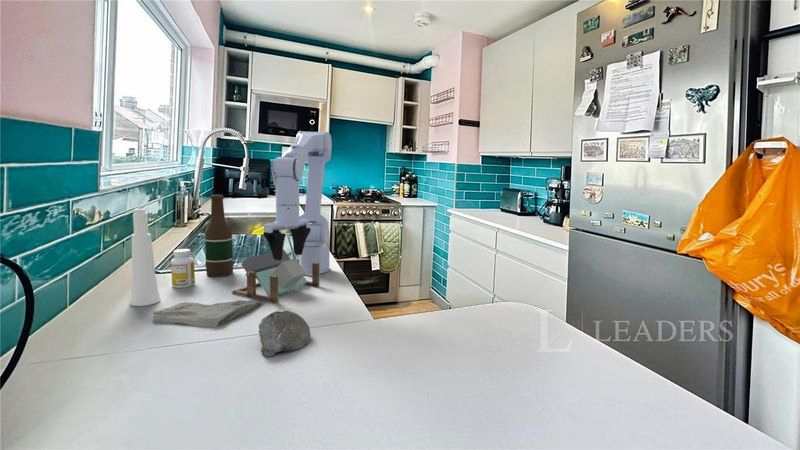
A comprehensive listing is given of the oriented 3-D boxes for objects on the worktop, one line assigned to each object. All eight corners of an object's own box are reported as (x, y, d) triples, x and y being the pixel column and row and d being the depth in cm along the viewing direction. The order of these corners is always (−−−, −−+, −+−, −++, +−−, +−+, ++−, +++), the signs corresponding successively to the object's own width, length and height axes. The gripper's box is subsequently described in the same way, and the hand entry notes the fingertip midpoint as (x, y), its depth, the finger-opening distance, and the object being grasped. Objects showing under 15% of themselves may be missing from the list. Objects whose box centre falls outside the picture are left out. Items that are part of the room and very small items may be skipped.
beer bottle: (225, 269, 121) (222, 193, 118) (238, 273, 117) (236, 195, 114) (200, 274, 115) (197, 194, 112) (214, 278, 111) (210, 195, 107)
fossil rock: (146, 325, 78) (146, 313, 78) (192, 301, 93) (192, 292, 93) (228, 330, 77) (228, 318, 76) (262, 305, 91) (261, 296, 91)
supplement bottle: (187, 281, 107) (185, 247, 106) (199, 284, 105) (197, 249, 103) (167, 286, 102) (165, 250, 101) (180, 289, 100) (178, 253, 99)
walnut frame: (281, 277, 113) (281, 256, 112) (321, 285, 107) (321, 262, 106) (229, 294, 97) (229, 269, 96) (272, 304, 91) (272, 277, 90)
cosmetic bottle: (159, 296, 94) (154, 207, 91) (161, 303, 89) (156, 209, 86) (129, 300, 90) (123, 208, 88) (129, 308, 86) (123, 210, 83)
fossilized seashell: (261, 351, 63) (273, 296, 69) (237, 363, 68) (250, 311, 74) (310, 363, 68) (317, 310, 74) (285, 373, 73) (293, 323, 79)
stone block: (285, 269, 103) (295, 258, 101) (295, 284, 102) (306, 273, 100) (271, 273, 99) (282, 261, 97) (282, 288, 98) (293, 277, 96)
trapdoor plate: (279, 255, 110) (284, 248, 109) (302, 287, 107) (308, 281, 106) (239, 264, 97) (245, 257, 96) (264, 301, 95) (270, 295, 94)
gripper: (294, 202, 106) (295, 250, 107) (254, 205, 93) (255, 260, 94) (315, 203, 103) (315, 253, 104) (276, 207, 90) (276, 263, 91)
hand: (288, 256), depth 99 cm, fingers open, 7 cm apart
